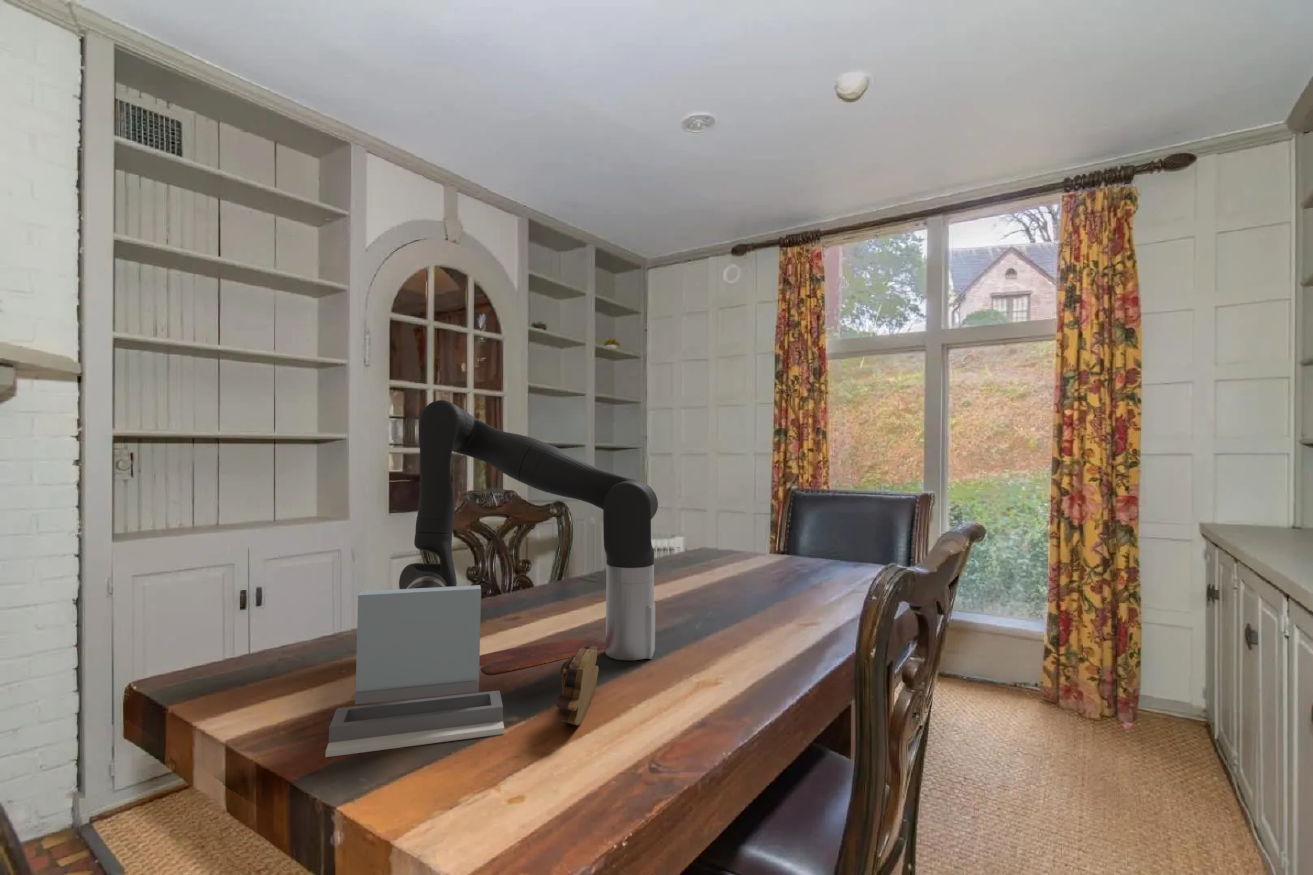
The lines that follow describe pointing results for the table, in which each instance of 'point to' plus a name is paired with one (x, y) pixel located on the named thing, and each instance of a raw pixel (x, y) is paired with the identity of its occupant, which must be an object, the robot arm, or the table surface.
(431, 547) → the robot arm
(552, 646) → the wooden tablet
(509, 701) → the table surface
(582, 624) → the table surface
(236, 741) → the table surface
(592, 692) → the wooden carving
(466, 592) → the grey panel
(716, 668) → the table surface
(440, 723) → the track
